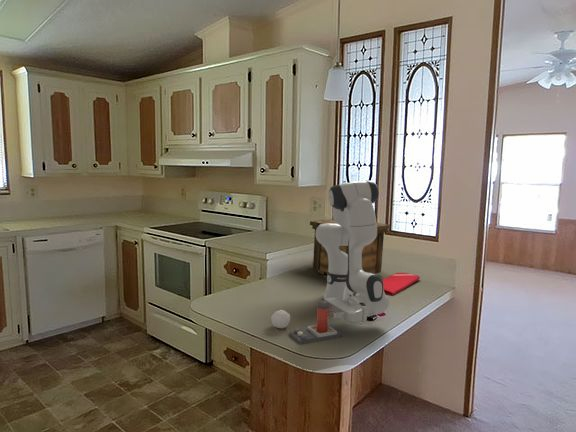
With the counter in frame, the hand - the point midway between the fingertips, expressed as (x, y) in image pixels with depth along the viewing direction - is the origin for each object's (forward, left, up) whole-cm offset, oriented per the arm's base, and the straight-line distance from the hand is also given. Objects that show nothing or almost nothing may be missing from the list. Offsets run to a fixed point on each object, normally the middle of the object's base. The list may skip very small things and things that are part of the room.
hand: (326, 311), depth 166 cm
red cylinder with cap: (+2, 0, -8) cm, 8 cm away
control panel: (+5, 0, -9) cm, 11 cm away
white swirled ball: (+14, -12, -10) cm, 21 cm away
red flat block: (-76, -45, -10) cm, 89 cm away
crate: (-62, -74, -10) cm, 97 cm away
